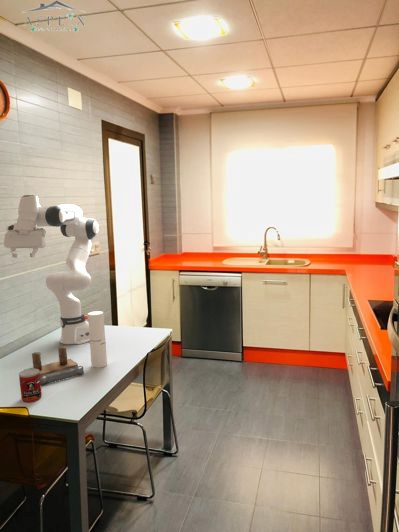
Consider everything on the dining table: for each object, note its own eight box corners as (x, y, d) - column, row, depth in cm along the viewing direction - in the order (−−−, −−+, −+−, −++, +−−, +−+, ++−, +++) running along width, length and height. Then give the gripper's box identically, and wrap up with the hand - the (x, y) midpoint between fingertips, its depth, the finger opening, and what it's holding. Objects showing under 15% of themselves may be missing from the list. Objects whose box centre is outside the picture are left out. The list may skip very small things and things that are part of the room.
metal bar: (81, 371, 206) (81, 365, 206) (85, 374, 203) (84, 367, 202) (36, 383, 194) (35, 376, 194) (39, 386, 191) (38, 379, 190)
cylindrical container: (90, 363, 216) (86, 312, 212) (105, 360, 219) (101, 310, 215) (93, 368, 209) (89, 315, 206) (108, 365, 212) (104, 313, 208)
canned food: (21, 404, 175) (19, 377, 173) (21, 396, 182) (18, 370, 180) (42, 400, 178) (40, 373, 176) (41, 392, 185) (38, 366, 183)
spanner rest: (70, 360, 220) (68, 342, 219) (77, 366, 212) (76, 347, 211) (23, 372, 208) (21, 353, 206) (29, 378, 200) (27, 359, 198)
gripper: (49, 229, 212) (47, 258, 209) (12, 230, 217) (8, 258, 215) (42, 226, 206) (39, 255, 203) (3, 227, 211) (0, 256, 209)
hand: (23, 257), depth 209 cm, fingers open, 8 cm apart
